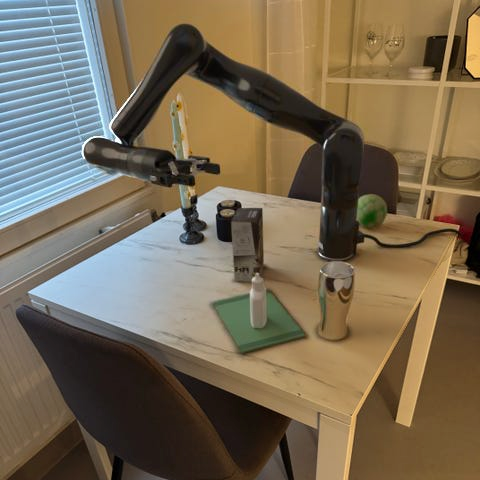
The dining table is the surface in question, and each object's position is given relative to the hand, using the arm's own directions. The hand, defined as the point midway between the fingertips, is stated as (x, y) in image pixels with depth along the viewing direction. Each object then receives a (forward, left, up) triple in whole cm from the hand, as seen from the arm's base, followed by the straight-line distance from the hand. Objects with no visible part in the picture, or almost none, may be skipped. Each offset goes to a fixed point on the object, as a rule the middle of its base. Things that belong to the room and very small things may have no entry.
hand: (207, 175), depth 98 cm
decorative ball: (-52, -15, -28) cm, 61 cm away
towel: (-4, +16, -28) cm, 33 cm away
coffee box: (-10, -4, -28) cm, 30 cm away
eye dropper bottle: (-4, +18, -28) cm, 33 cm away
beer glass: (-17, +27, -28) cm, 43 cm away
